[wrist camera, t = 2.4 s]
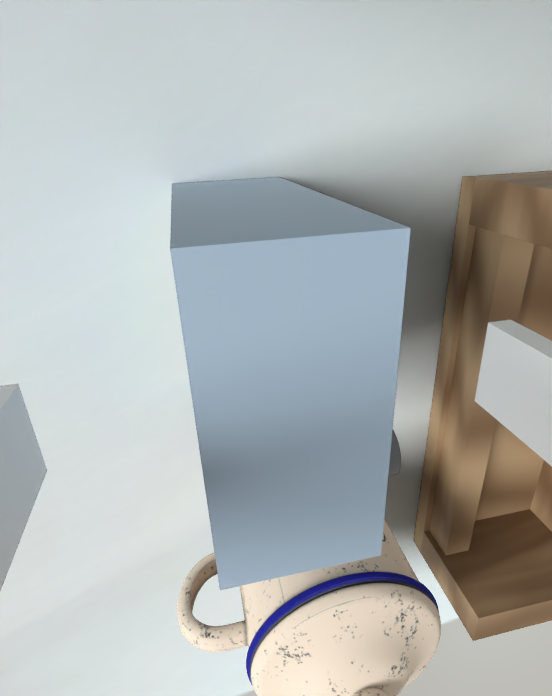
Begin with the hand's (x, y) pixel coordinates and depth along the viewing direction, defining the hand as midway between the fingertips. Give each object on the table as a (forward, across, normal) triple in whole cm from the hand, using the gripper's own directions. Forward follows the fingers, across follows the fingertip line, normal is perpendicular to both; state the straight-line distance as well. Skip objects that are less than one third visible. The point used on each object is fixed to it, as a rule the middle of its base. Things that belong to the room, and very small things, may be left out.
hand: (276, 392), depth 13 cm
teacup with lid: (+10, +1, -14) cm, 17 cm away
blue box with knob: (+9, 0, 0) cm, 9 cm away
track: (+9, +16, -8) cm, 20 cm away
